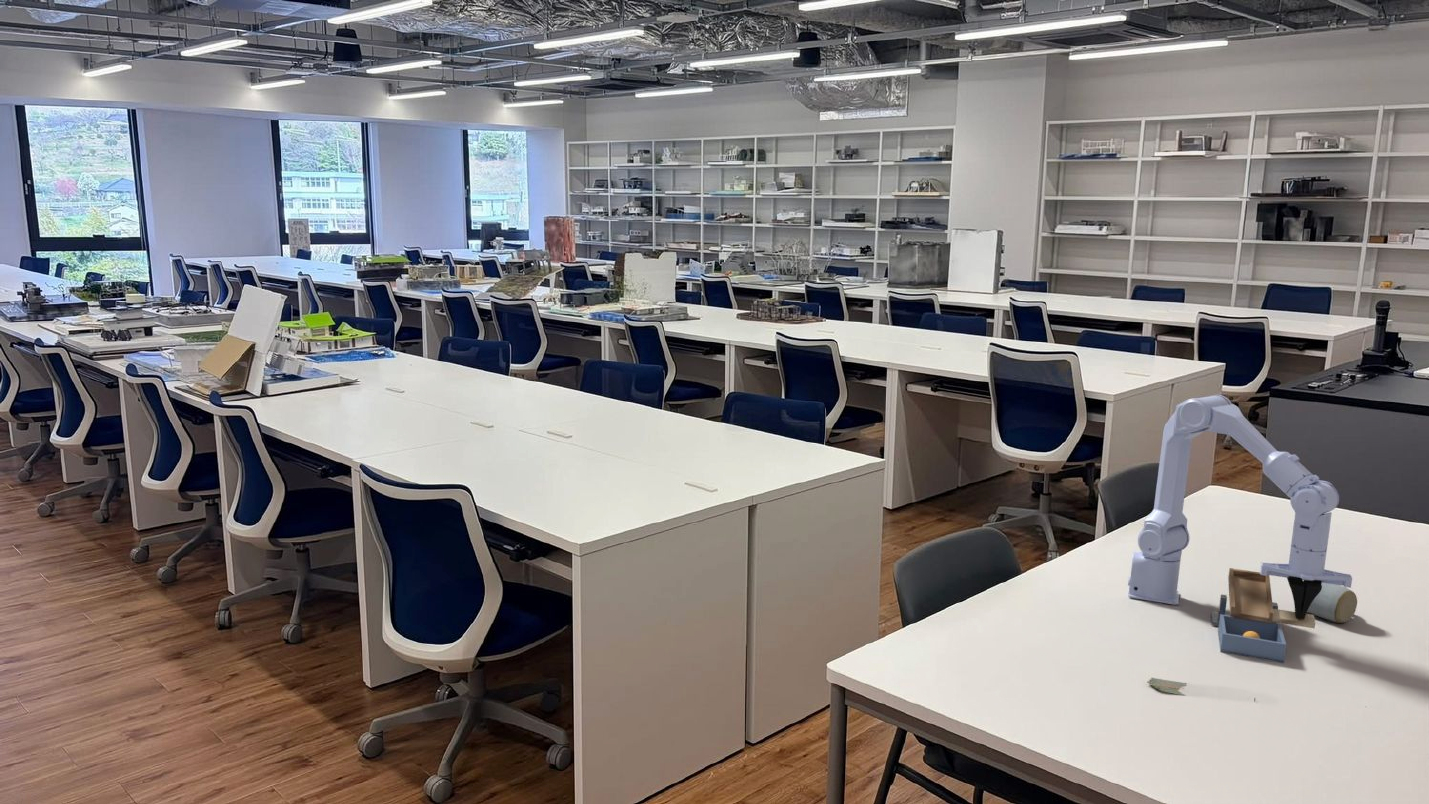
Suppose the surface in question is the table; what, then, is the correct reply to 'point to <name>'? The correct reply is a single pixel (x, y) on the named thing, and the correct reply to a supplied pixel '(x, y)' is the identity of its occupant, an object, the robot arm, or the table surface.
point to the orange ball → (1251, 634)
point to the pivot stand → (1222, 609)
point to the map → (1168, 685)
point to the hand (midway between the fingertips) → (1299, 616)
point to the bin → (1263, 648)
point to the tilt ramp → (1258, 600)
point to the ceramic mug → (1334, 603)
